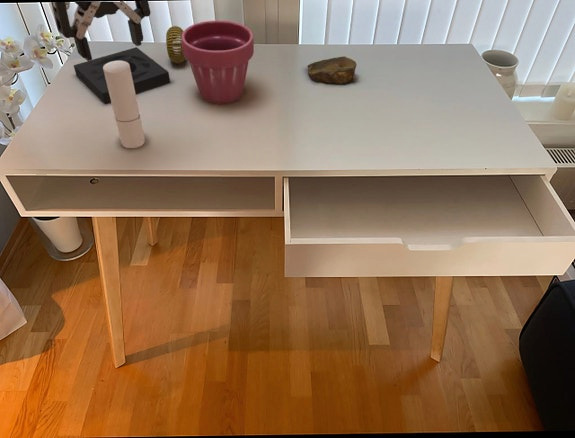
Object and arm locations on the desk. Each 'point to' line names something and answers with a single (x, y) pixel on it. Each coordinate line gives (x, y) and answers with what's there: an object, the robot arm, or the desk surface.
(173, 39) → the sculpture
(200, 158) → the desk surface
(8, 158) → the desk surface
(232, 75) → the flower pot
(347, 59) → the decorative stone
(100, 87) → the base pad
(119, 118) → the tube
